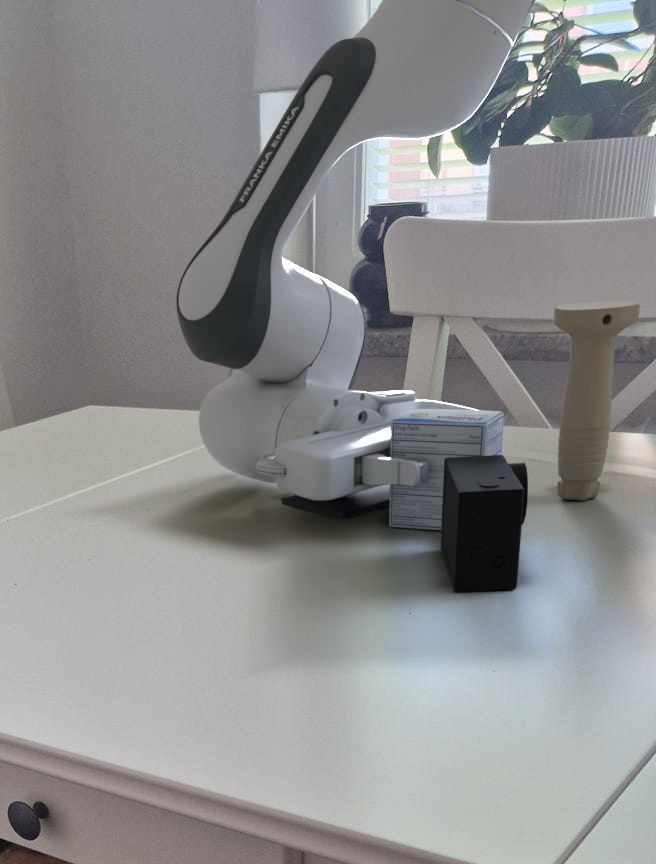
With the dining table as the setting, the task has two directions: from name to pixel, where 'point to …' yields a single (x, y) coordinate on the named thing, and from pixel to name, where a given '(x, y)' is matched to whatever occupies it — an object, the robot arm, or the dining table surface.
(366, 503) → the smartphone
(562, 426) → the handle
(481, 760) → the dining table surface
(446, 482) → the digital camera
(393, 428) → the medicine box
